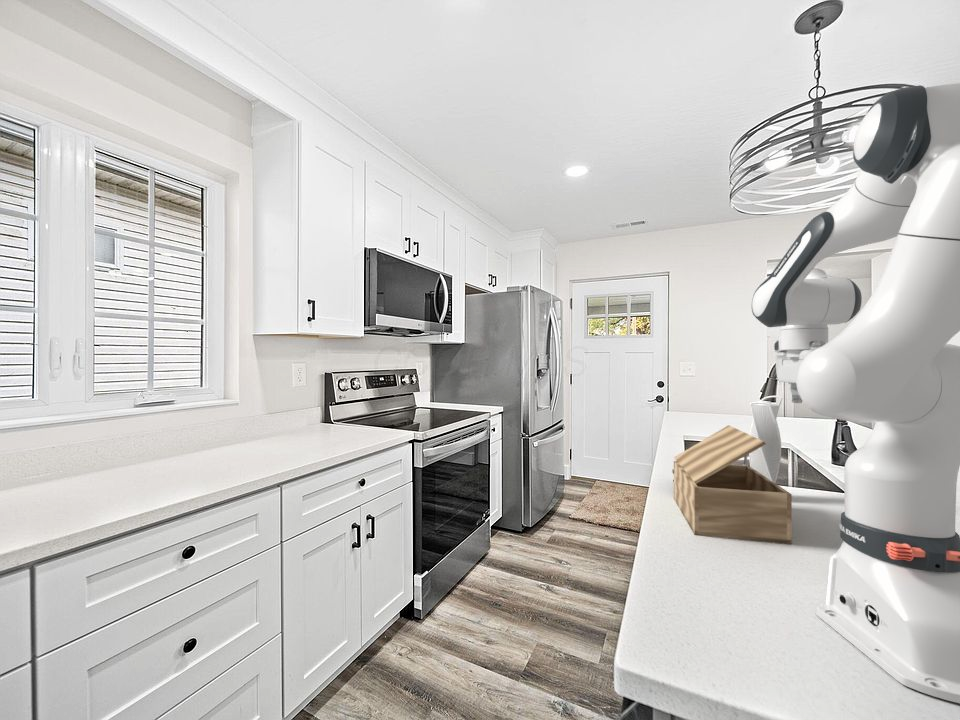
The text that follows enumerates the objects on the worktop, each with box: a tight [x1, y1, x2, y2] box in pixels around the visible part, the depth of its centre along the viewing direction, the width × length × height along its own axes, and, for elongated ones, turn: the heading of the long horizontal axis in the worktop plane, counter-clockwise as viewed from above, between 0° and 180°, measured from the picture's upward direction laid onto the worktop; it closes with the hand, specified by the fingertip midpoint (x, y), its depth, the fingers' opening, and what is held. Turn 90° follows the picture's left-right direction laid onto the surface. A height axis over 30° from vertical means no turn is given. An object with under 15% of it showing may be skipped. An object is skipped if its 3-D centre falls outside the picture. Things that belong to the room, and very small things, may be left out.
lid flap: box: [673, 425, 766, 484], centre depth 103 cm, size 25×16×1 cm
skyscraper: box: [742, 395, 784, 484], centre depth 119 cm, size 8×8×28 cm
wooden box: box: [673, 460, 793, 545], centre depth 103 cm, size 26×18×10 cm
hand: (803, 404), depth 99 cm, fingers open, 5 cm apart
